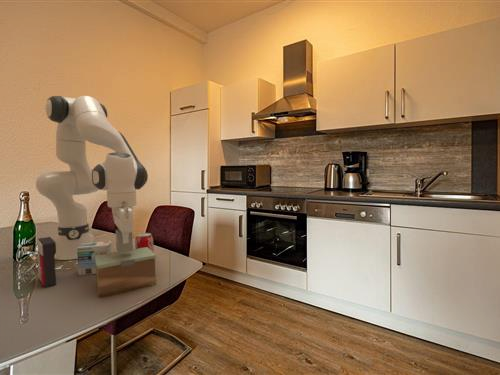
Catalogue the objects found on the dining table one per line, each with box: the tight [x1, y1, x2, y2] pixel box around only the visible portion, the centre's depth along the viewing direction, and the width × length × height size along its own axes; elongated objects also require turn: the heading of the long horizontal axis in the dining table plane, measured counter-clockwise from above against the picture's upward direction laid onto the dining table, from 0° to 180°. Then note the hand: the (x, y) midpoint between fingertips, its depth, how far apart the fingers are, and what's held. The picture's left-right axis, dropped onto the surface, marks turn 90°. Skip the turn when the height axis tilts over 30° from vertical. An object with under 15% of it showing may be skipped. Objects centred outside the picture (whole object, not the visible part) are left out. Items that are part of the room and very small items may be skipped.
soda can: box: [134, 232, 155, 254], centre depth 114 cm, size 7×7×12 cm
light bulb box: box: [77, 240, 113, 276], centre depth 105 cm, size 11×7×11 cm, turn 106°
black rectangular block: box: [36, 236, 57, 288], centre depth 95 cm, size 11×4×15 cm, turn 45°
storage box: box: [95, 258, 157, 298], centre depth 93 cm, size 12×17×9 cm
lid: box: [95, 247, 157, 269], centre depth 92 cm, size 13×17×2 cm
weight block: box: [115, 228, 134, 253], centre depth 92 cm, size 4×4×7 cm
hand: (124, 241), depth 92 cm, fingers closed on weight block, 4 cm apart
